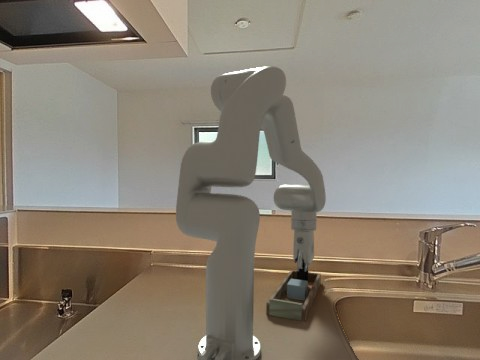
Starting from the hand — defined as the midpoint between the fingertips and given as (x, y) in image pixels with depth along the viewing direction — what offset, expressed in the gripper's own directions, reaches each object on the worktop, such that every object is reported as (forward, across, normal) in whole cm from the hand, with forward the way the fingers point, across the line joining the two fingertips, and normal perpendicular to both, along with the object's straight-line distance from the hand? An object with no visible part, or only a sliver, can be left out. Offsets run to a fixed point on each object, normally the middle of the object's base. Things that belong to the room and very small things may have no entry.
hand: (302, 283), depth 102 cm
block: (+1, -8, 0) cm, 8 cm away
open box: (+1, -9, 0) cm, 9 cm away
